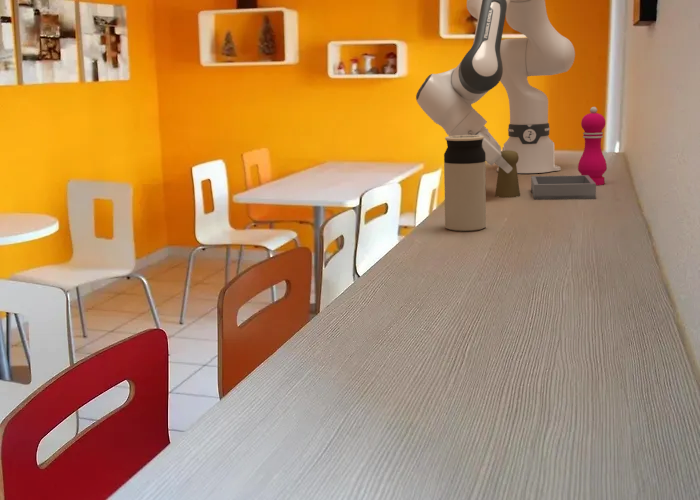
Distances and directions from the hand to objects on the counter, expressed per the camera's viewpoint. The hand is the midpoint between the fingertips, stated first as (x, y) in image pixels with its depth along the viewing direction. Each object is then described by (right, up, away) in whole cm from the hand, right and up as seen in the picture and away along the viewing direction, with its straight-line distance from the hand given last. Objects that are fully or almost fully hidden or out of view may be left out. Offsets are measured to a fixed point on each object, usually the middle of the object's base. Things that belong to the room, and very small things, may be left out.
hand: (510, 169), depth 198 cm
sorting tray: (+13, -6, 0) cm, 14 cm away
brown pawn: (0, -6, +1) cm, 7 cm away
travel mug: (-16, -15, -37) cm, 44 cm away
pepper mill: (+24, -3, +15) cm, 29 cm away
